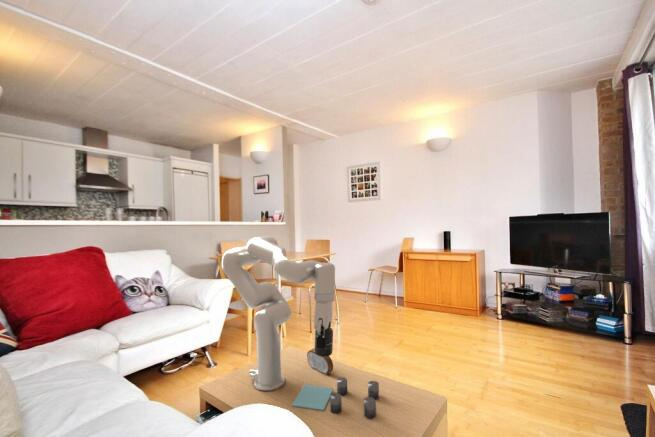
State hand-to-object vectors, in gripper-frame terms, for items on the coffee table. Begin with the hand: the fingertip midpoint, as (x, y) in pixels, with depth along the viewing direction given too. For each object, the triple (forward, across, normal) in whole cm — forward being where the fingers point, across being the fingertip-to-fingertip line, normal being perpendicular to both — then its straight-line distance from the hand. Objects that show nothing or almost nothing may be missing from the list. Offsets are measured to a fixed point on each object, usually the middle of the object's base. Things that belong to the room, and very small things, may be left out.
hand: (323, 343), depth 115 cm
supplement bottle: (+4, 0, 0) cm, 4 cm away
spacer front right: (+20, +6, +18) cm, 28 cm away
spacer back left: (+21, -5, +7) cm, 22 cm away
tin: (+22, -20, -7) cm, 31 cm away
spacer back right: (+20, -5, +19) cm, 28 cm away
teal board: (+21, 0, -4) cm, 21 cm away
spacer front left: (+21, +6, +6) cm, 22 cm away
